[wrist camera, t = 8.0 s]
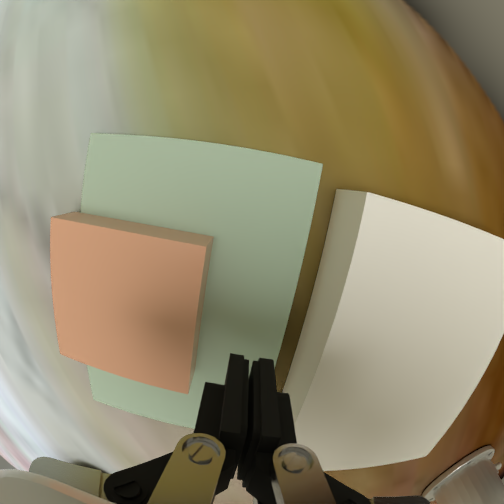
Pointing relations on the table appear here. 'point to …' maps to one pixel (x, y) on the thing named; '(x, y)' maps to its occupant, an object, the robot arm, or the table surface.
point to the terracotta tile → (129, 296)
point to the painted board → (393, 331)
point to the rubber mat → (223, 249)
